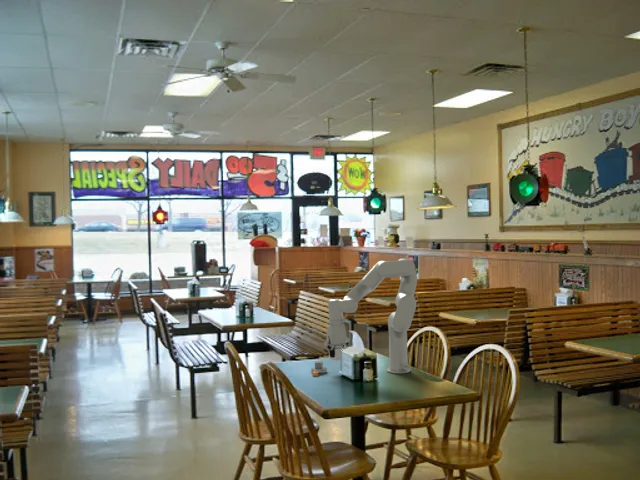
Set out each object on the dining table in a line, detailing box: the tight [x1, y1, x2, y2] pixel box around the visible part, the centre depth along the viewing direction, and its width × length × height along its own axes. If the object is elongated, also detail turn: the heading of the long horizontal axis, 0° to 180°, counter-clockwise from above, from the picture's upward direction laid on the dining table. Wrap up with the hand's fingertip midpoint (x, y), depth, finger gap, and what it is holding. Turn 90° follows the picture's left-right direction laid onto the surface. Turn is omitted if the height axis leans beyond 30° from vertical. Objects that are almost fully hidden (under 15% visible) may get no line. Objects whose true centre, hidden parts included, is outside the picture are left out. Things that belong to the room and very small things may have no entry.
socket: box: [328, 344, 348, 362], centre depth 330 cm, size 7×7×7 cm
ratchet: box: [310, 360, 328, 377], centre depth 330 cm, size 13×8×6 cm, turn 166°
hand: (338, 355), depth 330 cm, fingers closed on socket, 6 cm apart
